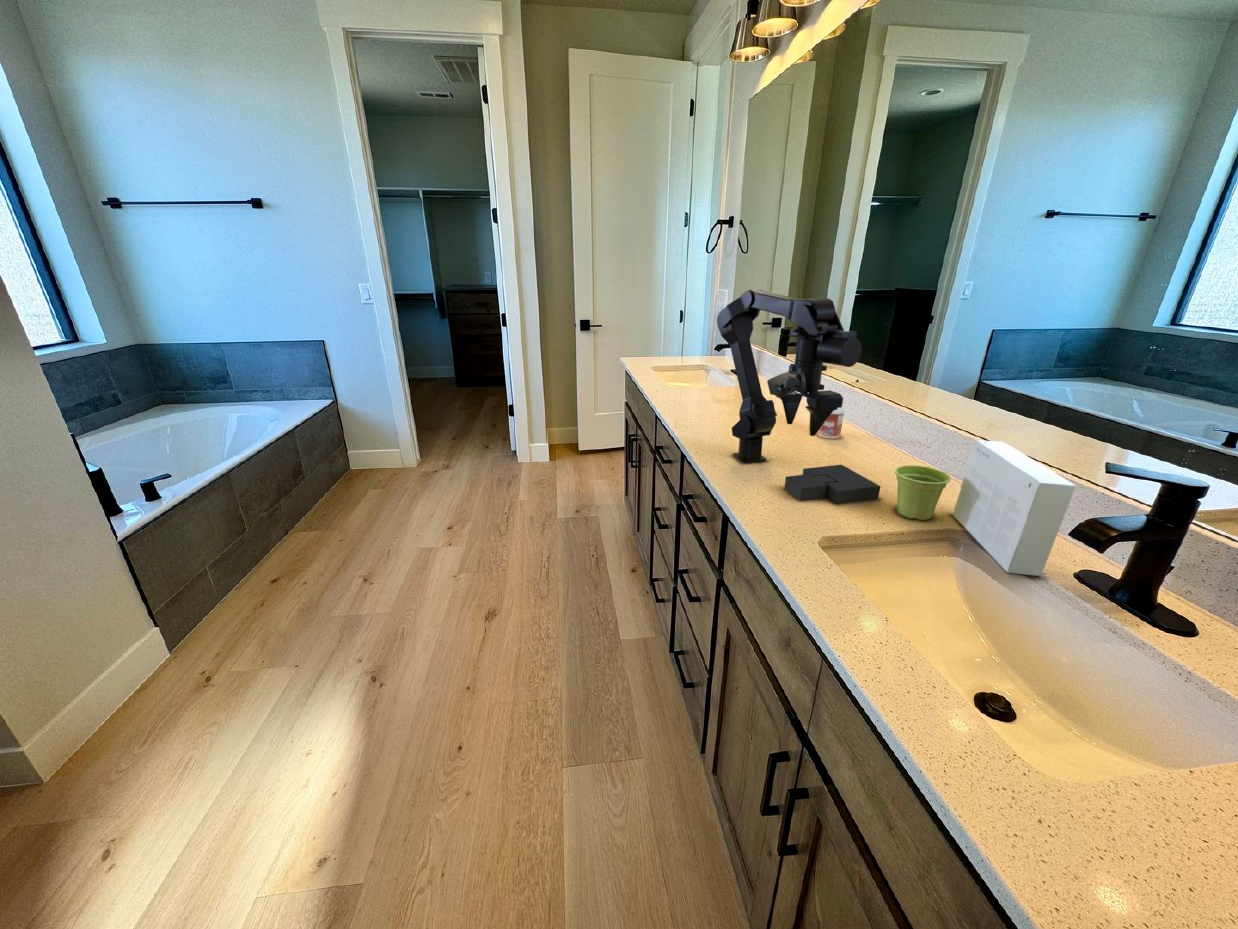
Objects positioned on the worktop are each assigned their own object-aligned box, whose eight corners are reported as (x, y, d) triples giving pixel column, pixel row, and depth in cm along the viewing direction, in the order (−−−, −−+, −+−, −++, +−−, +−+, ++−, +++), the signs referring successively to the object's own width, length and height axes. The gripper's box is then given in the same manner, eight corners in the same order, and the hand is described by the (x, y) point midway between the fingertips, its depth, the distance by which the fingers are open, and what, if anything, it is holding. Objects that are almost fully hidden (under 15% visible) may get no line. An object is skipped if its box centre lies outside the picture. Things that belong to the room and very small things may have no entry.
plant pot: (876, 508, 100) (884, 469, 97) (908, 500, 104) (917, 461, 101) (918, 528, 92) (928, 486, 89) (952, 518, 96) (962, 477, 93)
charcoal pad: (801, 480, 114) (803, 468, 113) (839, 476, 116) (841, 464, 115) (836, 504, 102) (838, 491, 101) (878, 499, 104) (880, 486, 103)
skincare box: (1046, 578, 77) (1078, 485, 71) (1006, 574, 78) (1036, 483, 72) (982, 516, 96) (1004, 439, 91) (951, 514, 97) (971, 438, 92)
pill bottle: (813, 435, 145) (818, 398, 141) (825, 431, 149) (830, 395, 145) (832, 440, 140) (838, 402, 136) (844, 436, 144) (850, 399, 140)
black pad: (784, 488, 110) (785, 476, 109) (820, 484, 112) (821, 472, 111) (800, 501, 104) (802, 488, 103) (837, 496, 106) (840, 483, 105)
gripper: (754, 355, 112) (748, 421, 118) (799, 369, 95) (790, 445, 101) (798, 353, 114) (790, 417, 120) (850, 366, 97) (838, 441, 103)
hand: (800, 429), depth 111 cm, fingers open, 9 cm apart
